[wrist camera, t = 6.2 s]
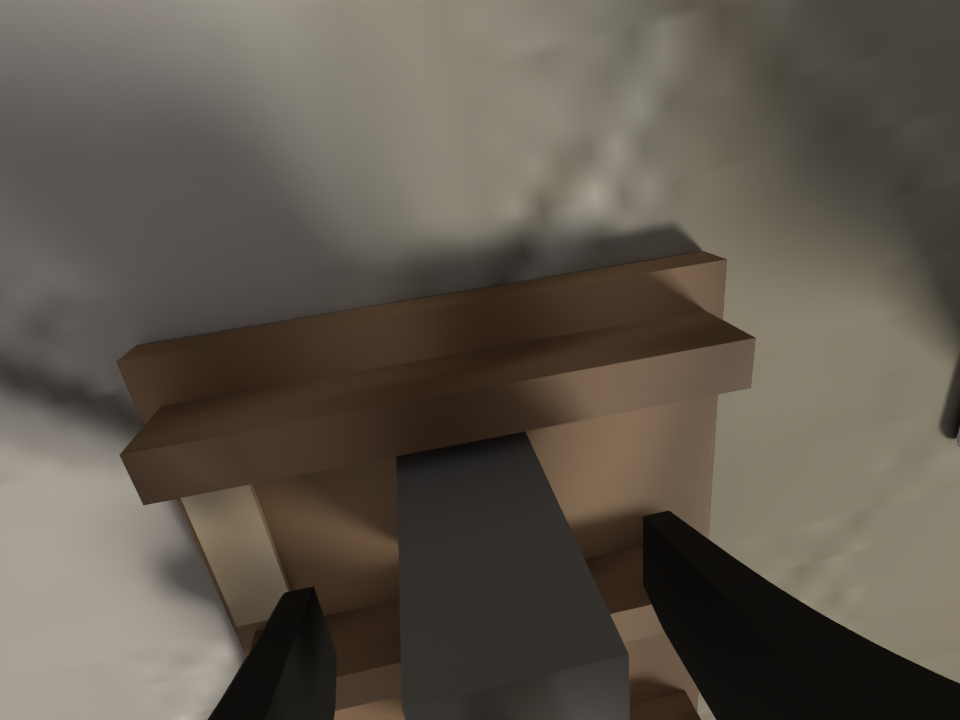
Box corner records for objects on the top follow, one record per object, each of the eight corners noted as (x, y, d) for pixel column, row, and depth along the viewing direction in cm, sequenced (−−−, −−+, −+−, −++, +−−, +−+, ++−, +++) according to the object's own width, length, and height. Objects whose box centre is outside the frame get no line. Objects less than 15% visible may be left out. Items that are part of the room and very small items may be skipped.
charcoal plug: (514, 407, 13) (687, 780, 6) (527, 530, 15) (676, 953, 7) (395, 429, 13) (405, 856, 5) (422, 552, 15) (460, 1017, 7)
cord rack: (704, 251, 14) (783, 280, 11) (682, 703, 21) (726, 789, 18) (136, 345, 12) (63, 404, 10) (324, 793, 20) (313, 900, 17)
